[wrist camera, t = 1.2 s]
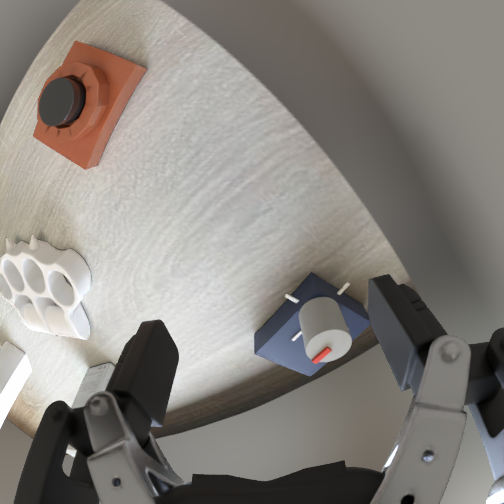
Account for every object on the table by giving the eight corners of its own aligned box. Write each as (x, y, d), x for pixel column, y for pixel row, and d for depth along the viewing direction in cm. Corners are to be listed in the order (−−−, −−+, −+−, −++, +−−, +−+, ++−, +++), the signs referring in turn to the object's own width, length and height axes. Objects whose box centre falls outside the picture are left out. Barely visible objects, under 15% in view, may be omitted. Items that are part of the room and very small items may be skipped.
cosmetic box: (88, 366, 35) (52, 444, 21) (112, 360, 33) (75, 449, 19) (122, 397, 38) (98, 472, 24) (148, 393, 37) (125, 477, 23)
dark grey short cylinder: (63, 73, 14) (51, 72, 13) (93, 87, 15) (81, 85, 14) (45, 115, 16) (32, 116, 14) (73, 131, 17) (60, 133, 15)
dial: (317, 289, 24) (329, 325, 19) (347, 307, 25) (362, 342, 20) (289, 318, 25) (296, 355, 21) (320, 334, 26) (329, 369, 22)
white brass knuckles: (27, 319, 31) (-7, 234, 24) (113, 331, 31) (77, 223, 24) (16, 332, 28) (-22, 245, 21) (103, 349, 28) (59, 236, 21)
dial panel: (308, 245, 25) (315, 261, 22) (376, 292, 28) (386, 309, 25) (238, 327, 30) (237, 347, 27) (306, 358, 32) (310, 377, 29)
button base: (87, 44, 16) (64, 36, 12) (147, 68, 18) (128, 60, 14) (45, 133, 20) (20, 139, 16) (97, 165, 22) (74, 174, 18)
